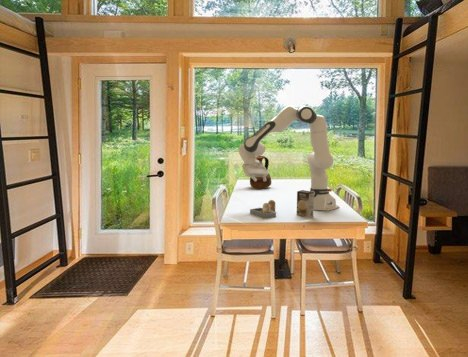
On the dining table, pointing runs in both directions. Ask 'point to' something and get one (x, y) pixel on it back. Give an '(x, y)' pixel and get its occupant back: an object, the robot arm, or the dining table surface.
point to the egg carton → (260, 213)
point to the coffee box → (305, 203)
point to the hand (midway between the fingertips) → (260, 180)
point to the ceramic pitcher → (260, 182)
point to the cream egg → (266, 208)
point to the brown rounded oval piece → (272, 205)
